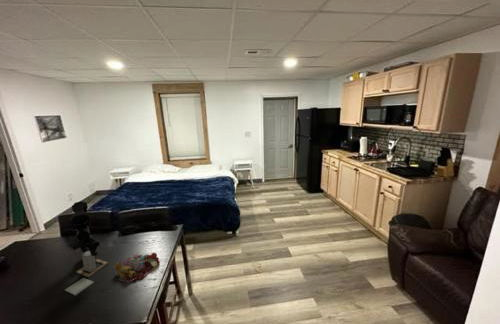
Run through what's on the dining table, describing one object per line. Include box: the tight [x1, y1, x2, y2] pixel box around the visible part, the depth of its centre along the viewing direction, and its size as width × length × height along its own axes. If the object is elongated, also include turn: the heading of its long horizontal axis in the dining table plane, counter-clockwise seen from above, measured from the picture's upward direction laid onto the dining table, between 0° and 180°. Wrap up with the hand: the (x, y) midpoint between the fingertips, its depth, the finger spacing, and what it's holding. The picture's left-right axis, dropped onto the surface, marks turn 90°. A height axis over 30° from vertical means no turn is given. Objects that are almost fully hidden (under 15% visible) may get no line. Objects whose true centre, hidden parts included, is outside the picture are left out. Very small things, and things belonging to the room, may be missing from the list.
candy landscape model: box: [113, 252, 160, 283], centre depth 136 cm, size 25×24×9 cm
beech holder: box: [76, 258, 109, 278], centre depth 138 cm, size 12×13×1 cm
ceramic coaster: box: [64, 277, 95, 296], centre depth 123 cm, size 10×10×1 cm
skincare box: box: [81, 251, 97, 273], centre depth 136 cm, size 6×4×12 cm
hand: (88, 254), depth 134 cm, fingers open, 9 cm apart
